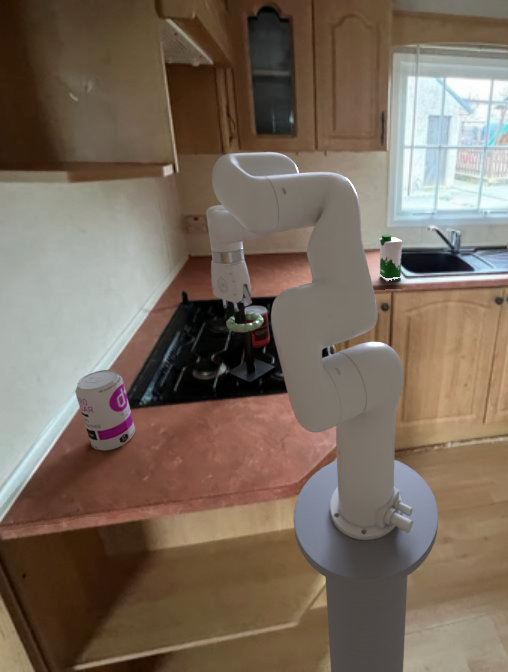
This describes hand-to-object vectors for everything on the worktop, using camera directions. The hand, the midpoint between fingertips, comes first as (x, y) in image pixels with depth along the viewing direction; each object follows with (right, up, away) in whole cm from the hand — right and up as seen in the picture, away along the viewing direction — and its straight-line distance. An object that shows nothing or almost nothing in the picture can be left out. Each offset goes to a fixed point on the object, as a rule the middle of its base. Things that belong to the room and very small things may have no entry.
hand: (236, 321), depth 109 cm
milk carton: (+45, +13, +76) cm, 89 cm away
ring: (+3, 0, -2) cm, 4 cm away
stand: (+3, -14, +3) cm, 15 cm away
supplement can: (-20, -24, -21) cm, 37 cm away
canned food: (0, -8, +20) cm, 21 cm away
